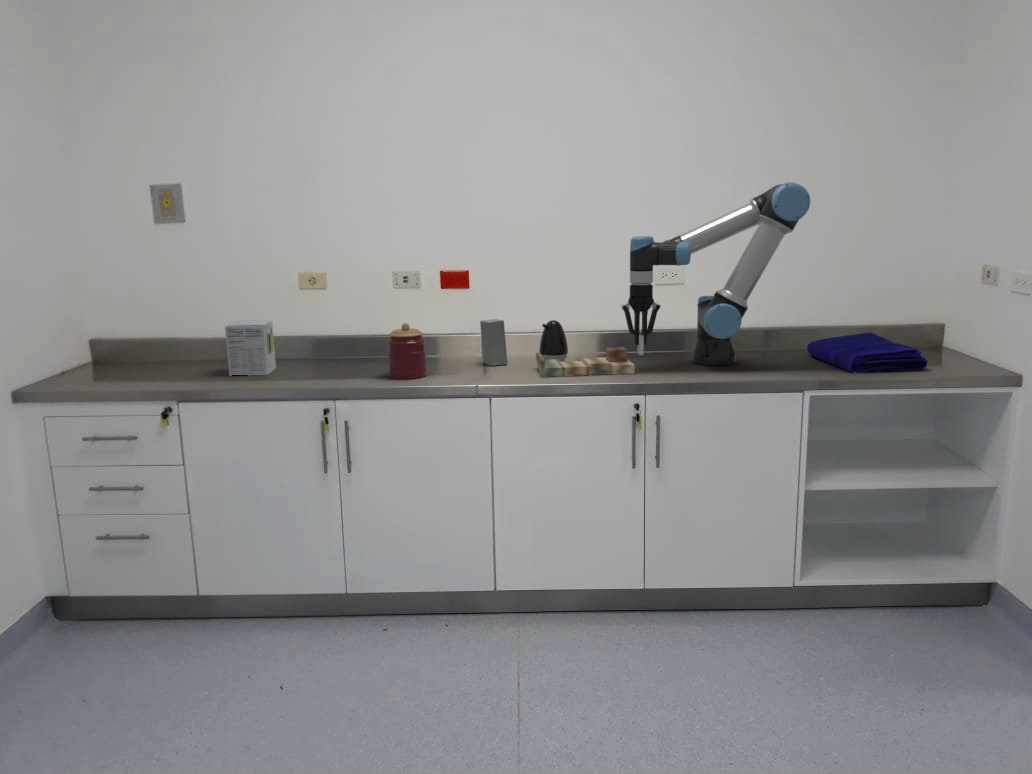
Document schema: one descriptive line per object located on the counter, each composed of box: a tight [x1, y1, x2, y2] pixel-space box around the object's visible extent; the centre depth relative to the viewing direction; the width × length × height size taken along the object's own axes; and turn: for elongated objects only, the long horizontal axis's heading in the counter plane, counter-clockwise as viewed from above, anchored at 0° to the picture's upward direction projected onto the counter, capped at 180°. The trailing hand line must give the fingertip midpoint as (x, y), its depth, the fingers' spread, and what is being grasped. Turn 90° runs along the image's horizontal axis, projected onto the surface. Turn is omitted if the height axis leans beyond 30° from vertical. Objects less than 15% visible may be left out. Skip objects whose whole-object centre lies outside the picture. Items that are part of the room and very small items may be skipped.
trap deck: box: [535, 352, 636, 378], centre depth 275 cm, size 30×16×6 cm, turn 96°
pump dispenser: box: [538, 319, 569, 362], centre depth 291 cm, size 10×10×15 cm
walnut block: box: [605, 346, 628, 362], centre depth 277 cm, size 6×6×4 cm
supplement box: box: [224, 319, 277, 377], centre depth 285 cm, size 13×13×18 cm
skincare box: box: [479, 318, 508, 367], centre depth 291 cm, size 8×7×16 cm
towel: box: [806, 332, 928, 374], centre depth 279 cm, size 26×36×9 cm
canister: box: [386, 322, 428, 380], centre depth 272 cm, size 13×13×18 cm
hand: (640, 354), depth 277 cm, fingers closed
